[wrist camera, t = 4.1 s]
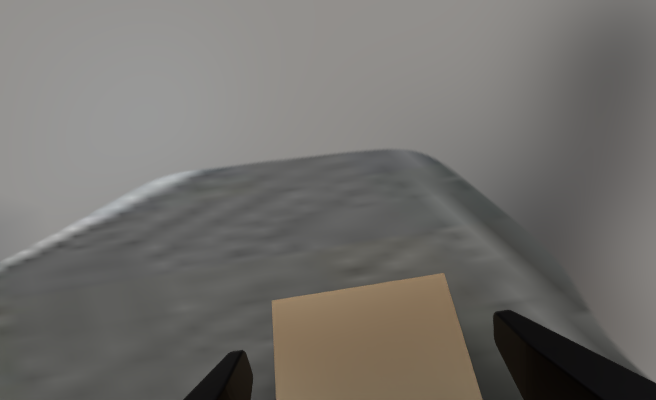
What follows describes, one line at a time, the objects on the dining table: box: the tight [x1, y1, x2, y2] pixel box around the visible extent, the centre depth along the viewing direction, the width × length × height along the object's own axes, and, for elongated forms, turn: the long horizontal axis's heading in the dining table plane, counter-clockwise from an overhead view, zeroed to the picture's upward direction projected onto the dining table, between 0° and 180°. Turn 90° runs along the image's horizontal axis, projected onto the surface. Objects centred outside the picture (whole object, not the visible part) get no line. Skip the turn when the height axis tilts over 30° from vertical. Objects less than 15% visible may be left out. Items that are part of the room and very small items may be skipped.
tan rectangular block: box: [272, 273, 483, 400], centre depth 10 cm, size 4×3×10 cm
